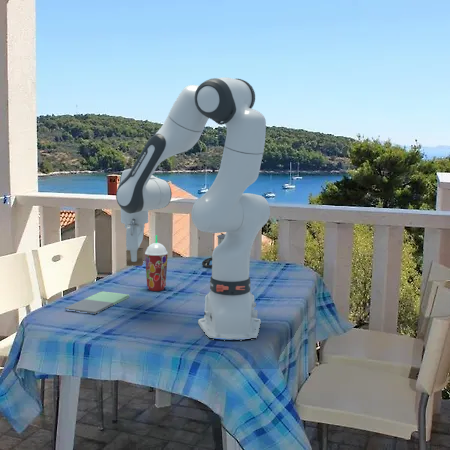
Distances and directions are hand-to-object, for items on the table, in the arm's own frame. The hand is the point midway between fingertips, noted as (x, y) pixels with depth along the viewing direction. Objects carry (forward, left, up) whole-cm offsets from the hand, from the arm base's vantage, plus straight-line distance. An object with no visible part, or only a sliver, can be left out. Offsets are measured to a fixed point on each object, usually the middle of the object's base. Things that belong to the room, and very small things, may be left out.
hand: (135, 259), depth 188 cm
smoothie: (+20, -6, -16) cm, 26 cm away
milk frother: (+54, -31, -16) cm, 64 cm away
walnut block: (0, 0, -2) cm, 2 cm away
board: (+1, +12, -15) cm, 20 cm away
